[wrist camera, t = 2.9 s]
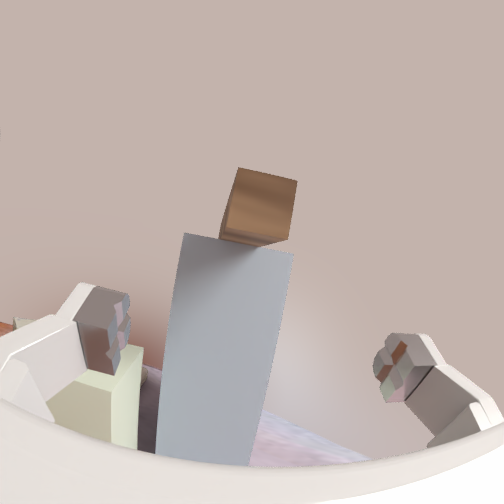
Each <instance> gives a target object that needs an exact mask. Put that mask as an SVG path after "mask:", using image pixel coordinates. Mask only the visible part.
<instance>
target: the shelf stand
mask: <svg viewBox="0 0 504 504" xmlns="http://www.w3.org/2000/svg"><path fill="white" fill-rule="evenodd" d="M293 256H294V254H292V253H287V252H282V251H276V250H272V249H266V248H261V247H256V246H251V245H246V244H241V243H236V242H230V241H225V240H220V239H215V238H210V237H204V236H199V235H194V234H189V233H184V236H183V242H182V247H181V252H180V258H179V263H178V269H177V274H176V279H175V285H174V291H173V298H172V304H171V310H170V317H169V324H168V331H167V338H166V345H165V354H164V361H163V370H162V379H161V388H160V398H159V409H158V421H157V435H156V451H155V454H158V455H163V456H168V457H173V458H179V459H185V460H192V461H199V462H207V463H216V464H226V465H239V466H248V464H249V460H250V456H251V452H252V448H253V444H254V440H255V436H256V432H257V428H258V424H259V420H260V416H261V412H262V407H263V403H264V399H265V394H266V390H267V385H268V381H269V377H270V372H271V368H272V363H273V358H274V354H275V348H276V344H277V339H278V334H279V330H280V324H281V320H282V315H283V309H284V304H285V299H286V294H287V289H288V283H289V278H290V272H291V267H292V261H293Z"/></svg>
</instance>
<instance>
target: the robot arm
mask: <svg viewBox="0 0 504 504" xmlns="http://www.w3.org/2000/svg"><path fill="white" fill-rule="evenodd" d="M129 306H130V300H129V295H128V294H126V293H123V292H119V291H115V290H111V289H107V288H103V287H100V286H95V285H91V284H87V283H84V282H81V283H79V284H78V285H77V286H76V287H75V289H74V290H73V291H72V293H71V294H70V295H69V297H68V298H67V299H66V301H65V302H64V304H63V305H62V306H61V308H60V309H59V311H58V312H57V313H56V315H52V314H50V315H48V316H46V317H43V318H41V319H39V320H37V321H34V322H32V323H30V324H28V325H26V326H23V327H21V328H19V329H17V330H15V331H12V332H10V333H8V334H6V335H4V336H2V337H0V504H504V418H503V416H502V415H501V413H500V411H499V409H498V407H497V406H496V404H495V402H494V400H493V398H492V397H491V396H490V395H488V394H487V393H486V392H485V391H483V390H482V389H481V388H479V387H478V386H477V385H475V384H474V383H473V382H471V381H470V380H469V379H468V378H466V377H465V376H464V375H462V374H461V373H460V372H458V371H457V370H456V369H454V368H453V367H451V366H450V365H447V364H446V362H445V361H444V359H443V357H442V356H441V354H440V353H439V351H438V349H437V348H436V347H435V345H434V343H433V341H432V340H431V338H430V337H429V336H428V335H426V334H404V333H391V334H390V335H389V336H388V337H387V339H386V340H385V347H384V348H382V349H381V350H379V351H378V353H377V355H376V356H375V358H374V363H373V372H374V374H375V377H376V378H377V379H378V380H379V381H380V382H381V385H380V390H381V392H382V395H383V398H384V400H385V402H386V403H387V402H404V403H405V404H406V405H407V406H408V407H409V408H410V409H411V411H412V412H413V413H414V414H415V415H416V416H417V417H418V418H419V419H420V420H421V421H422V423H423V424H424V425H425V426H426V427H427V428H428V429H429V430H430V431H431V433H432V434H433V435H434V436H435V437H434V438H433V439H432V440H431V441H430V442H429V443H428V445H427V449H423V450H419V451H415V452H411V453H406V454H401V455H397V456H391V457H386V458H380V459H374V460H368V461H361V462H353V463H344V464H334V465H321V466H302V467H258V466H239V465H226V464H216V463H207V462H199V461H192V460H185V459H179V458H173V457H168V456H163V455H158V454H153V453H148V452H144V451H140V450H135V449H131V448H127V447H124V446H120V445H116V444H113V443H109V442H106V441H103V440H100V439H96V438H93V437H90V436H87V435H84V434H82V433H79V432H76V431H73V430H71V429H68V428H65V427H63V426H60V425H58V424H55V423H54V422H55V420H54V417H53V415H52V413H51V412H50V410H49V408H48V406H47V404H46V403H45V402H46V401H48V400H49V399H50V398H51V397H53V396H54V395H55V394H57V393H58V392H59V391H61V390H62V389H63V388H65V387H66V386H67V385H69V384H70V383H71V382H73V381H74V380H75V379H77V378H78V377H79V376H81V375H82V374H83V373H85V372H86V371H87V369H90V370H93V371H97V372H101V373H105V374H109V375H113V376H115V373H116V370H117V368H118V365H119V363H120V360H121V355H120V351H121V350H122V349H124V348H125V347H126V344H127V342H128V338H129V333H130V317H129V315H128V314H127V311H128V308H129Z"/></svg>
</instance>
